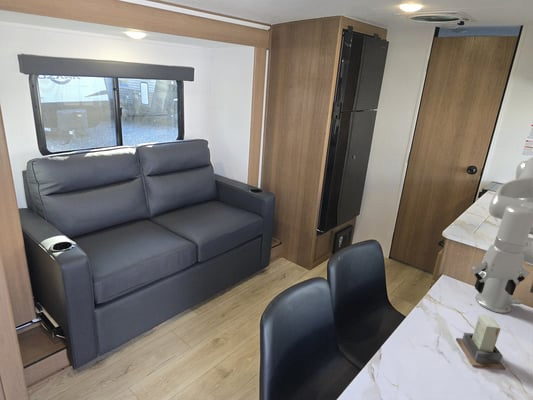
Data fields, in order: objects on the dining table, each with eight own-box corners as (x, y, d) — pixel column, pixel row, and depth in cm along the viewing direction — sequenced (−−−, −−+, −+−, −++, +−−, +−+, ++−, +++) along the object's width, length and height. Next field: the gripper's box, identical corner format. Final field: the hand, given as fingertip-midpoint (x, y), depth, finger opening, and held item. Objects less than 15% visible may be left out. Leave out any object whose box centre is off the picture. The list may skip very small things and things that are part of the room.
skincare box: (490, 360, 113) (502, 329, 109) (476, 357, 114) (487, 326, 110) (482, 346, 119) (492, 316, 115) (469, 343, 120) (478, 314, 116)
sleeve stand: (484, 342, 122) (488, 332, 121) (504, 369, 111) (508, 359, 109) (455, 339, 122) (458, 329, 121) (472, 366, 111) (476, 355, 110)
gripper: (529, 241, 111) (513, 286, 117) (474, 237, 111) (460, 283, 117) (546, 252, 104) (527, 300, 110) (486, 248, 104) (472, 296, 110)
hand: (493, 291), depth 114 cm, fingers open, 9 cm apart
